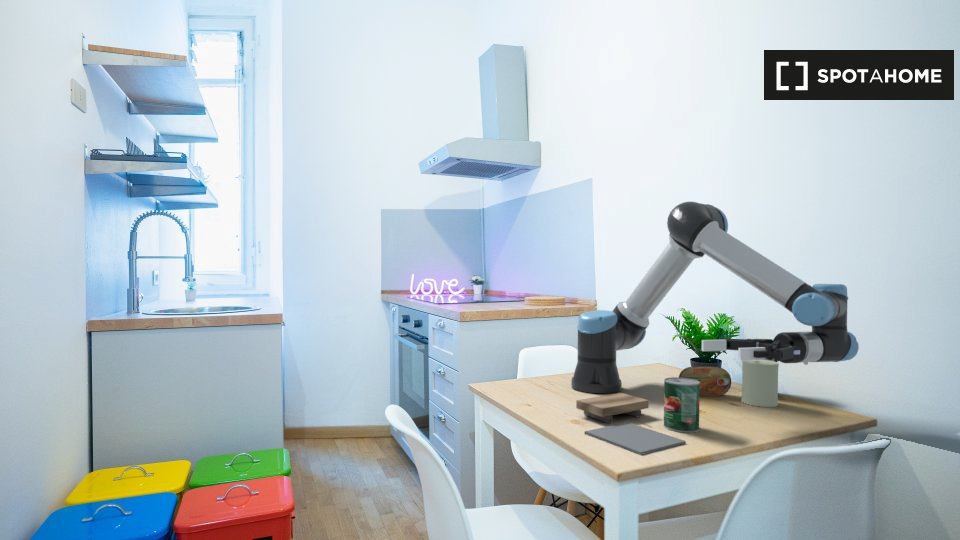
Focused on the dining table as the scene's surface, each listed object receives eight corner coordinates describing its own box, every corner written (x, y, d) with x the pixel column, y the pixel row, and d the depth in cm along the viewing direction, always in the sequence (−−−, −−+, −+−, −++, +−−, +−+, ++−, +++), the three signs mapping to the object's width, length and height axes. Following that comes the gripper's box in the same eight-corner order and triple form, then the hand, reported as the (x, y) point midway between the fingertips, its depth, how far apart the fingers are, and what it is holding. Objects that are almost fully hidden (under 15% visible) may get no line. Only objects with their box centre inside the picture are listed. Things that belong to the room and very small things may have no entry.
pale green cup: (736, 403, 154) (737, 359, 153) (747, 397, 160) (747, 356, 160) (772, 409, 147) (773, 364, 147) (782, 403, 154) (783, 360, 154)
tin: (680, 396, 161) (681, 367, 161) (676, 393, 164) (677, 365, 164) (731, 396, 161) (732, 367, 161) (726, 393, 165) (727, 365, 164)
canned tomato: (706, 429, 128) (707, 381, 128) (686, 434, 124) (686, 385, 124) (676, 420, 135) (677, 376, 135) (656, 426, 130) (657, 379, 130)
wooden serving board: (576, 416, 138) (576, 400, 138) (621, 407, 146) (621, 392, 146) (602, 425, 130) (602, 408, 130) (648, 416, 139) (648, 400, 139)
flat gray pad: (584, 433, 124) (584, 431, 124) (628, 424, 131) (628, 422, 131) (640, 454, 110) (640, 452, 110) (685, 443, 118) (685, 440, 118)
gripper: (839, 372, 124) (757, 375, 119) (759, 354, 148) (689, 357, 143) (839, 338, 124) (757, 340, 119) (760, 326, 148) (689, 328, 143)
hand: (719, 349), depth 131 cm, fingers open, 13 cm apart
